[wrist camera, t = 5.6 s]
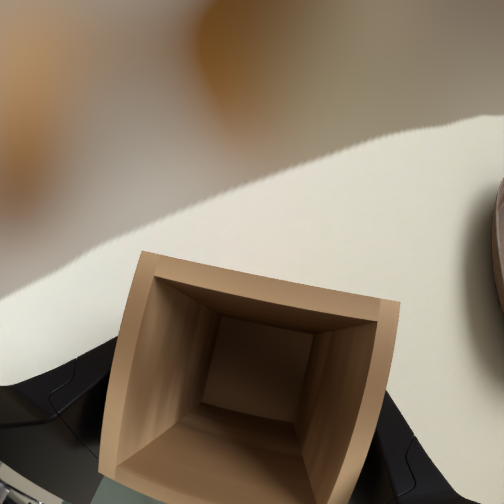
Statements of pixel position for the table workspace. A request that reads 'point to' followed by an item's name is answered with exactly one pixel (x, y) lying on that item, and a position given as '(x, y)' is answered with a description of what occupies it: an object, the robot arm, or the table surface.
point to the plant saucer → (499, 244)
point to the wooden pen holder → (243, 387)
